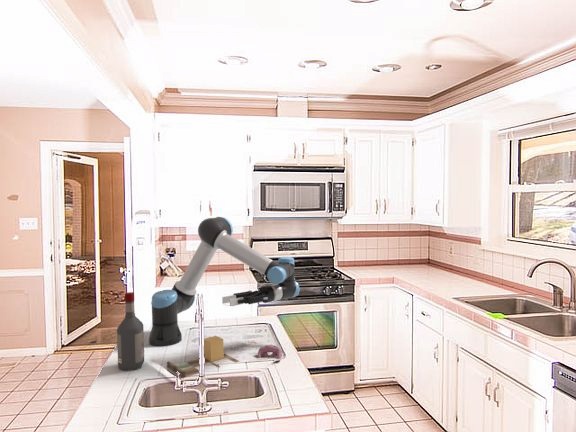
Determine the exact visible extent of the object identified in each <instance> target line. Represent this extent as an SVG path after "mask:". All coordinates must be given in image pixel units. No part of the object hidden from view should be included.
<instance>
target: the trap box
mask: <svg viewBox="0 0 576 432" xmlns="http://www.w3.org/2000/svg"><path fill="white" fill-rule="evenodd" d="M199 358H200V357H198V358H195V359H192V360H191V359H190V360H188V361H184V362H181V363H176V364H174V363H173V362H171V361H166V368H168V369H166V371H167V372H168V373H169V374H171V375H173V377H175V376H177V375H176V372H177V371H178V372H179V373H180V376H179V377H180V378H181V379H184V378H187V377H190V376H194V375H197V374H198V375H199V374H200V373H199V370H200V369H198V368H196V367H198V366H200V365H199ZM225 359H228V360H230V361H231V362H234V363H239V362H240V360H238V359H236V358H234V357H232V356H230V355H228V354H226V353H224V358H222V359H218V360H215V361H209V360H207V359H205V364H209V363H210V364H211V365H212V366H214V367H216V368H221V366H220V365H218V364H217V363H214V362H218V361H220V360H225ZM205 364H204V365H205ZM170 370H171V371H170ZM174 373H175V374H174Z"/></svg>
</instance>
